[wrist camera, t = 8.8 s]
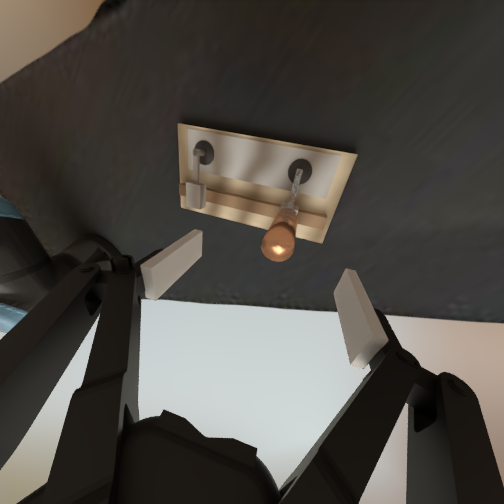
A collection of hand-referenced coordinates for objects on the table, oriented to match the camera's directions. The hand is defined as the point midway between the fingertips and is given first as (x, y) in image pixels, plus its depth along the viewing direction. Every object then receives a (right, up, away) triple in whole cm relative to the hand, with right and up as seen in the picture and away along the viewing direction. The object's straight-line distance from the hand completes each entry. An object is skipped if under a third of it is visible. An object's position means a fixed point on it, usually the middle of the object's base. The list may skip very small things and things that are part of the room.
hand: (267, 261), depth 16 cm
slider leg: (+5, +9, +13) cm, 17 cm away
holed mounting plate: (-1, +13, +15) cm, 20 cm away
